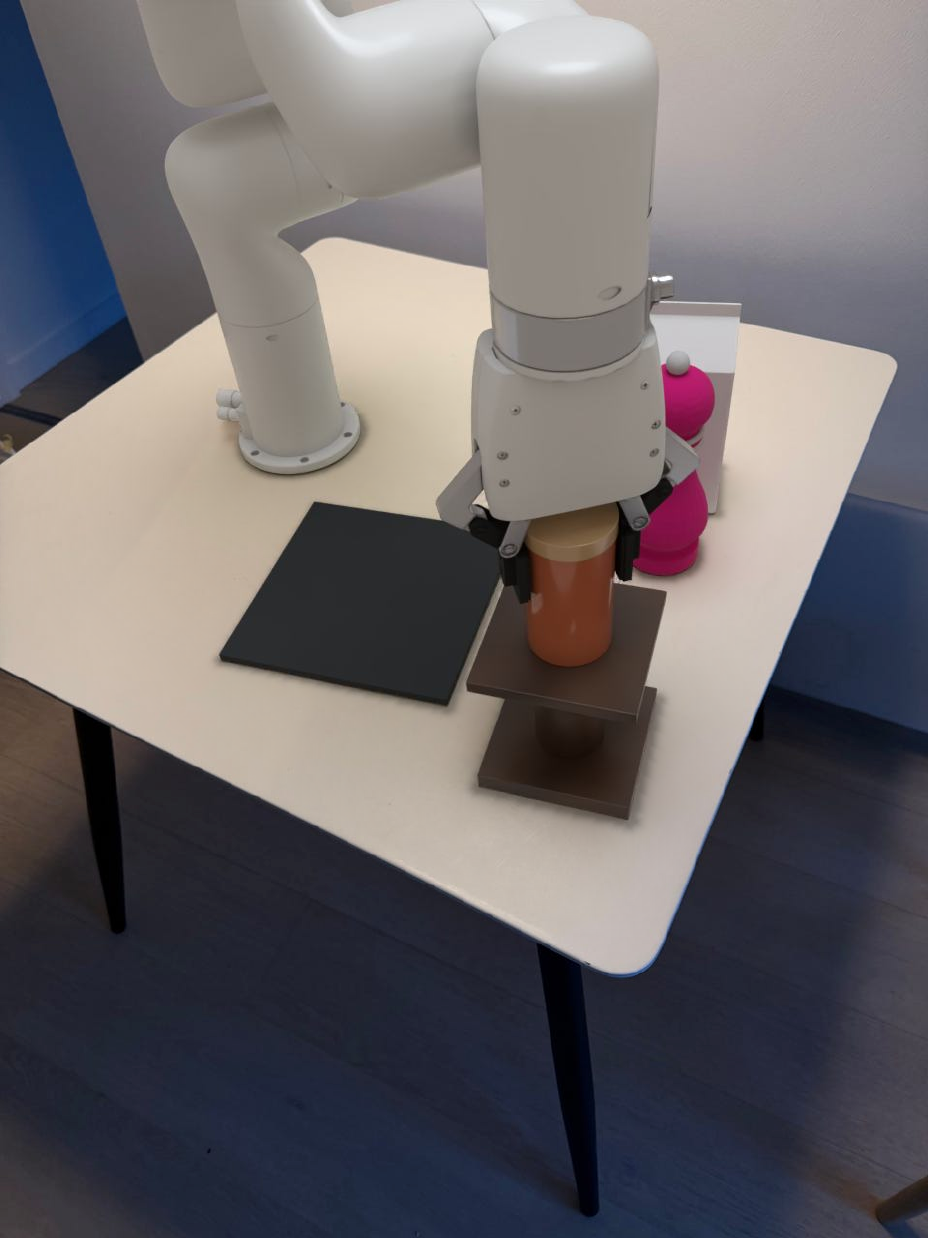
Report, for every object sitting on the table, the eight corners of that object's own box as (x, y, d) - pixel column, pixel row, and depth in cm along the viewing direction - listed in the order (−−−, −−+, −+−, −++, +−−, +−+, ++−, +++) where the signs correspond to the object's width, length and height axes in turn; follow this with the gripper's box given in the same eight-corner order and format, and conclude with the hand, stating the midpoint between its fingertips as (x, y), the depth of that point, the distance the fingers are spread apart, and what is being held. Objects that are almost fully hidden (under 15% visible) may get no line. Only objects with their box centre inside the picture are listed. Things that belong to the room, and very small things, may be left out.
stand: (478, 787, 72) (465, 682, 63) (518, 674, 79) (511, 565, 70) (628, 820, 69) (636, 715, 60) (656, 700, 76) (667, 590, 67)
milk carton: (715, 515, 90) (741, 327, 76) (636, 509, 91) (647, 324, 77) (717, 466, 95) (742, 281, 81) (642, 461, 96) (654, 279, 82)
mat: (220, 660, 83) (218, 654, 82) (315, 507, 95) (314, 500, 95) (447, 706, 77) (446, 700, 77) (515, 537, 90) (515, 531, 89)
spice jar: (515, 659, 64) (507, 538, 57) (537, 597, 68) (533, 475, 60) (603, 675, 63) (607, 554, 55) (621, 611, 66) (627, 488, 59)
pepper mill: (682, 590, 84) (706, 389, 69) (605, 563, 87) (612, 365, 72) (715, 539, 88) (744, 339, 73) (640, 515, 91) (654, 318, 76)
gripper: (706, 248, 52) (679, 511, 65) (382, 308, 50) (422, 565, 63) (767, 319, 47) (724, 589, 60) (409, 388, 45) (446, 650, 58)
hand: (569, 575), depth 61 cm, fingers closed on spice jar, 5 cm apart
